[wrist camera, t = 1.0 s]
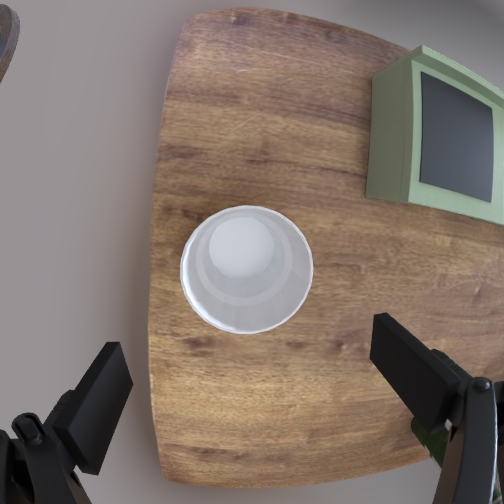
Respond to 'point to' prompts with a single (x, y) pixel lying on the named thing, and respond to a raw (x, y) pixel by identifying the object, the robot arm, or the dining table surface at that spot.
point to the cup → (246, 269)
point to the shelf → (437, 137)
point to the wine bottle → (443, 449)
